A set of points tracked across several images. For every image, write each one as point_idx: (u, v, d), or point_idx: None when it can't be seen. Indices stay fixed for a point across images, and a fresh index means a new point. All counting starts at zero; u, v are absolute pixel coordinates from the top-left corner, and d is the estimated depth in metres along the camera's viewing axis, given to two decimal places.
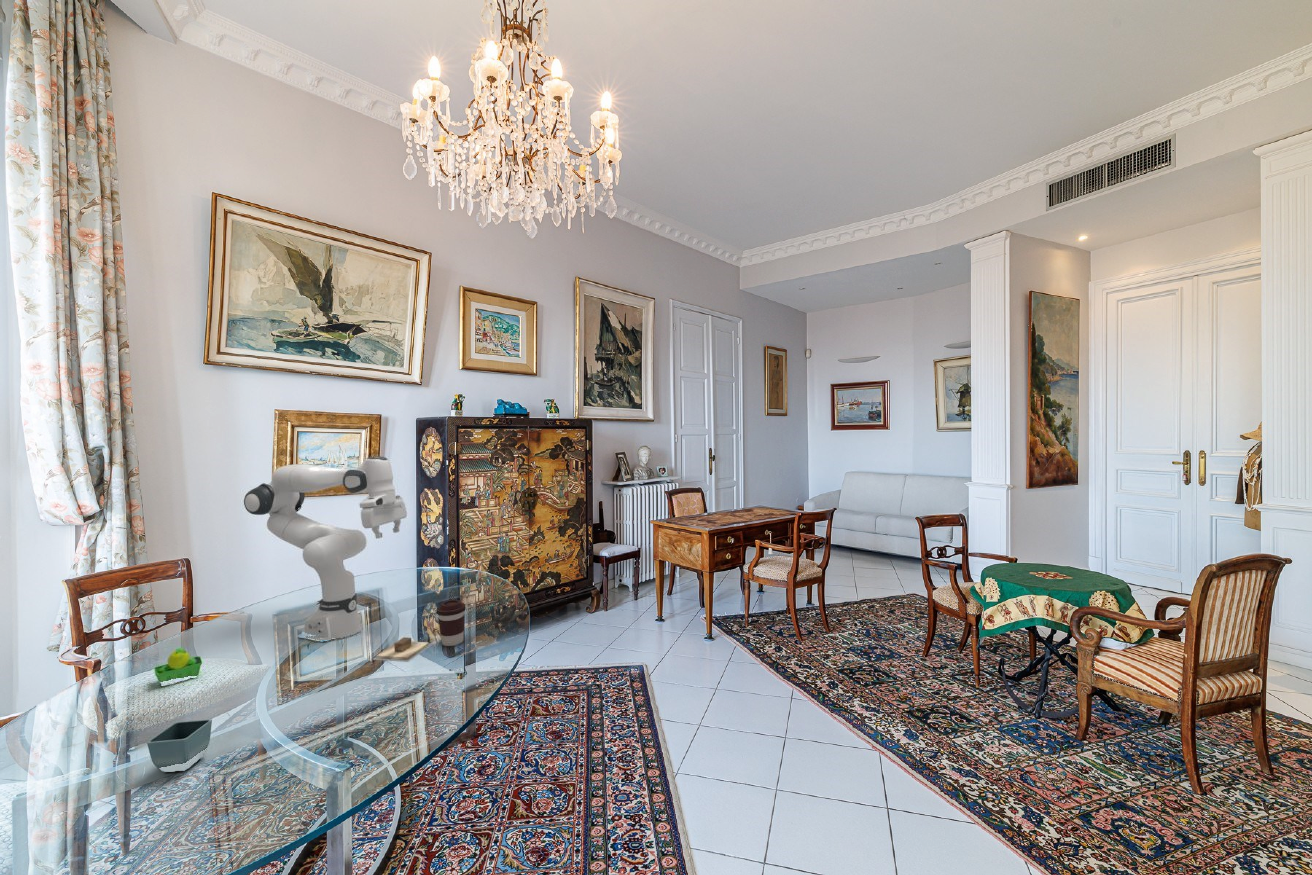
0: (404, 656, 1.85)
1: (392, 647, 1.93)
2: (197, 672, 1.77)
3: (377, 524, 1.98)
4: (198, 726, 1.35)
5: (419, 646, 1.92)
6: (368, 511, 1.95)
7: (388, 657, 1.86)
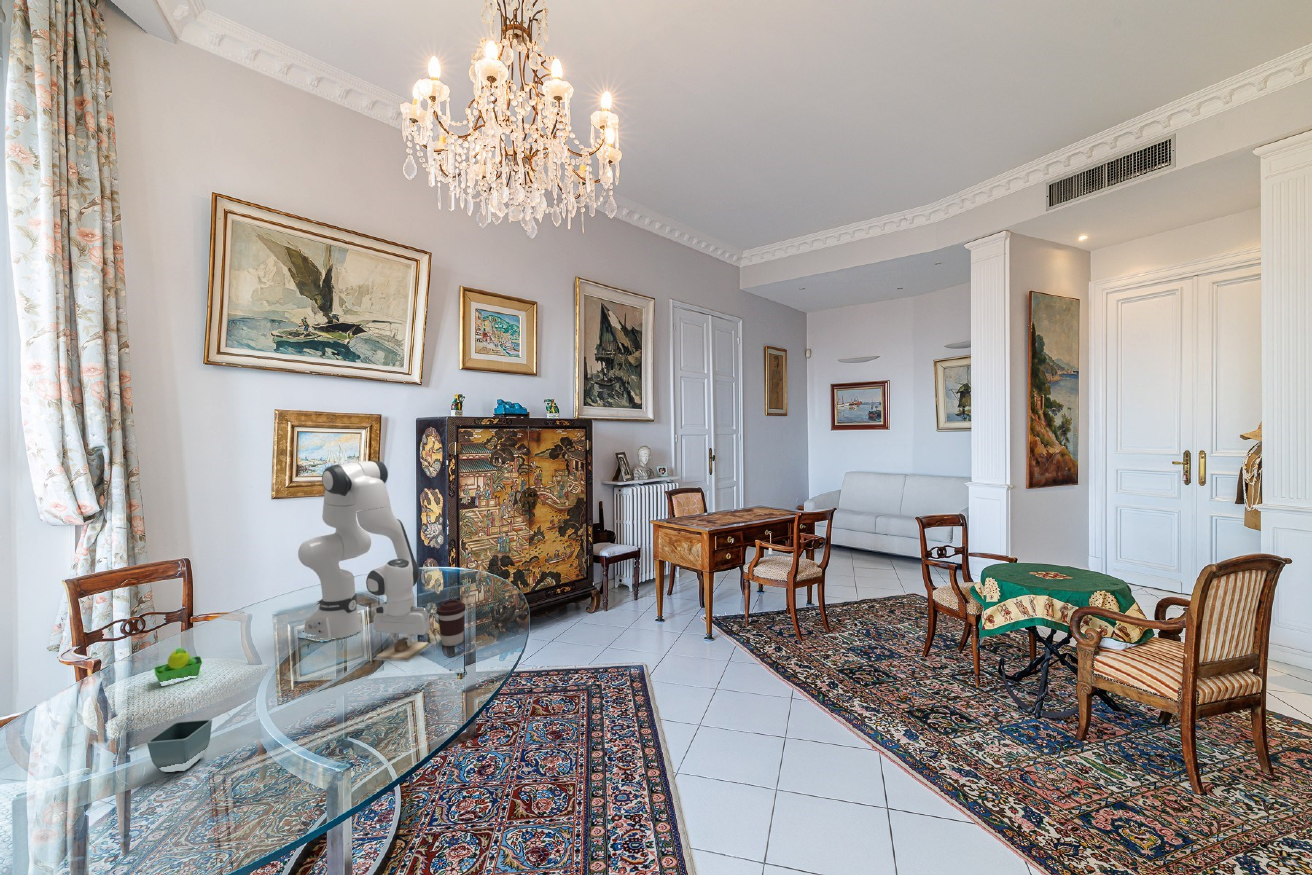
0: (404, 656, 1.85)
1: (392, 647, 1.93)
2: (197, 672, 1.77)
3: (381, 631, 1.90)
4: (198, 726, 1.35)
5: (418, 646, 1.92)
6: None
7: (388, 657, 1.86)
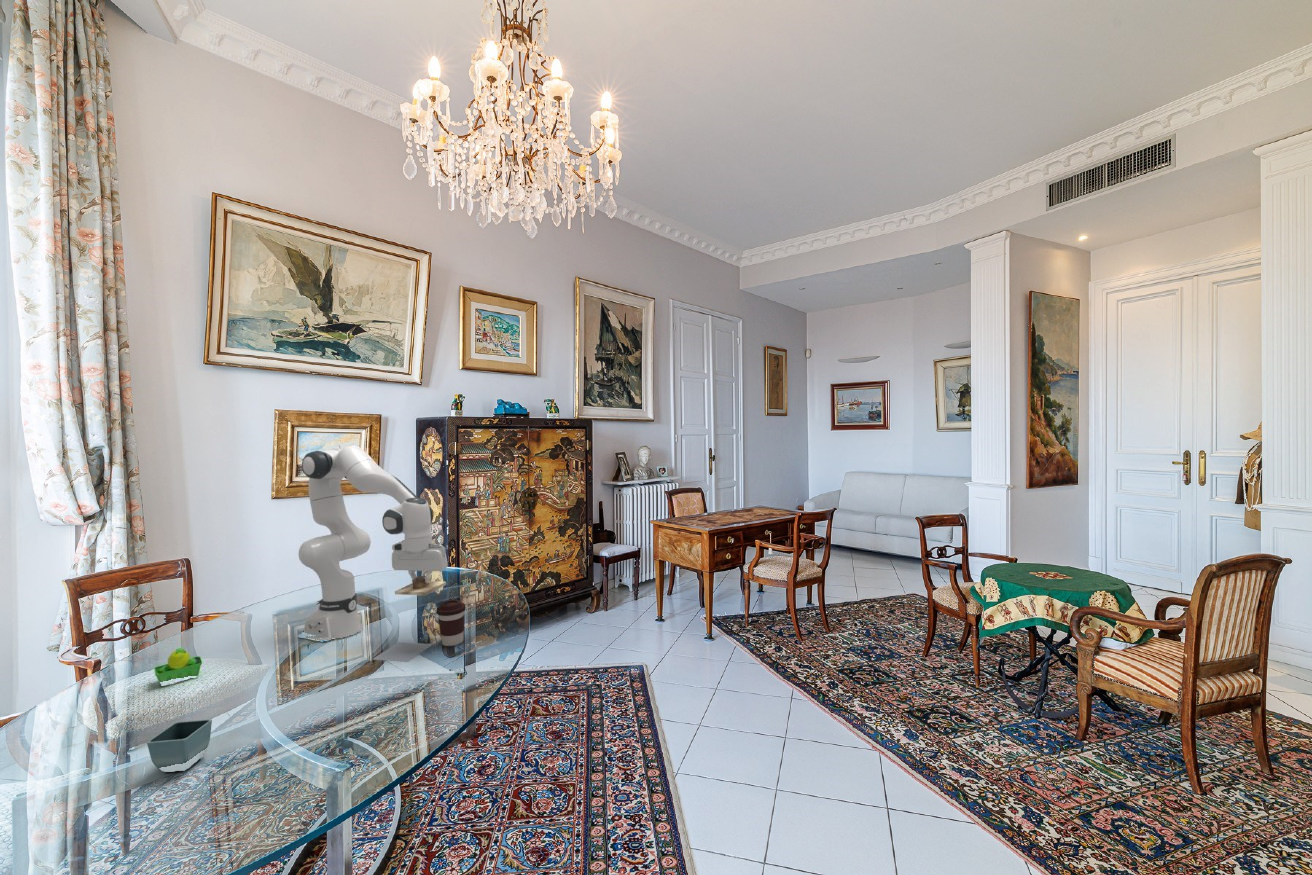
0: (422, 591, 1.87)
1: (410, 585, 1.94)
2: (197, 672, 1.77)
3: (400, 568, 1.92)
4: (198, 726, 1.35)
5: (436, 584, 1.94)
6: None
7: (406, 592, 1.87)
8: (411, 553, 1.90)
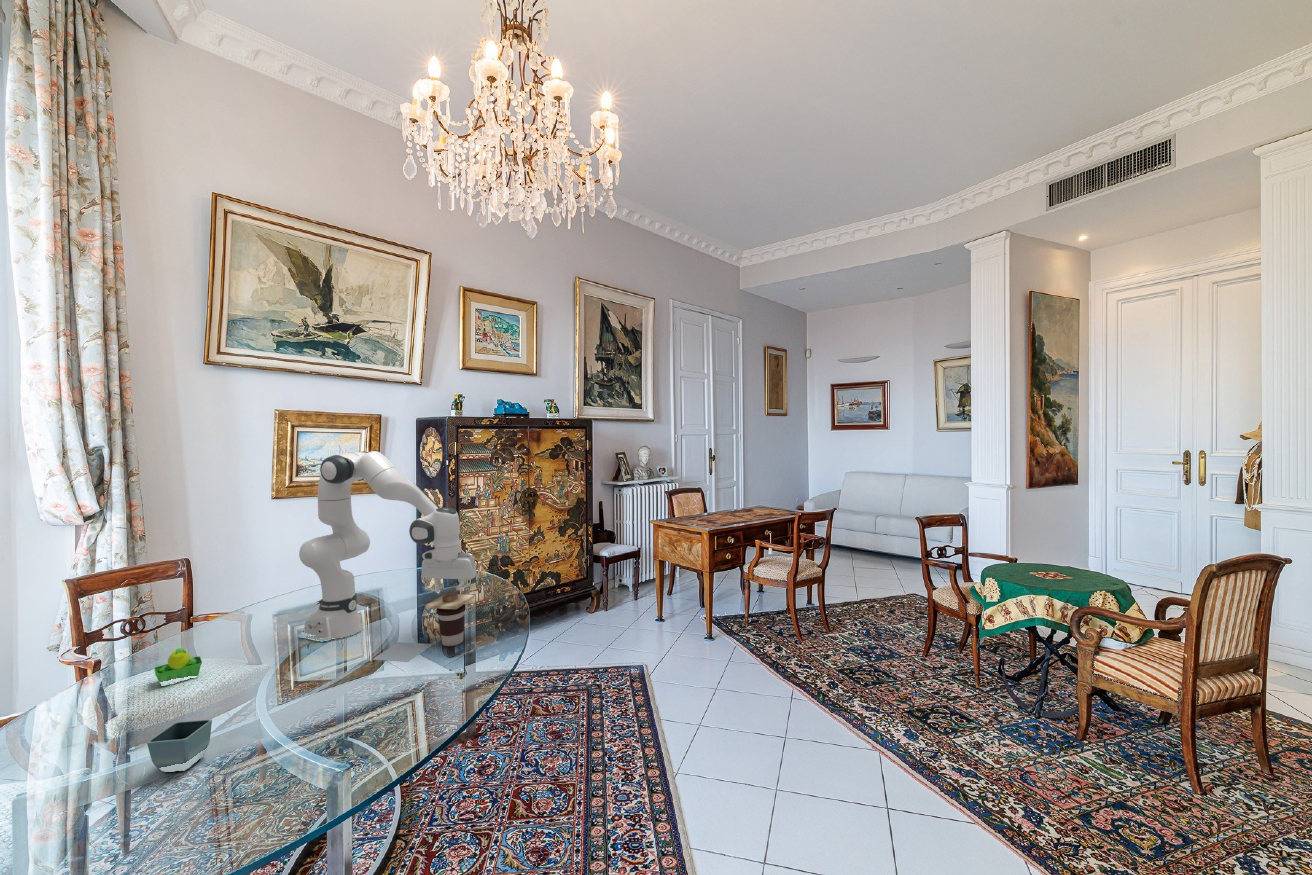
0: (453, 605, 1.91)
1: (439, 599, 1.99)
2: (197, 672, 1.77)
3: (429, 576, 1.97)
4: (198, 726, 1.35)
5: (465, 598, 1.99)
6: None
7: (437, 606, 1.92)
8: (441, 562, 1.94)
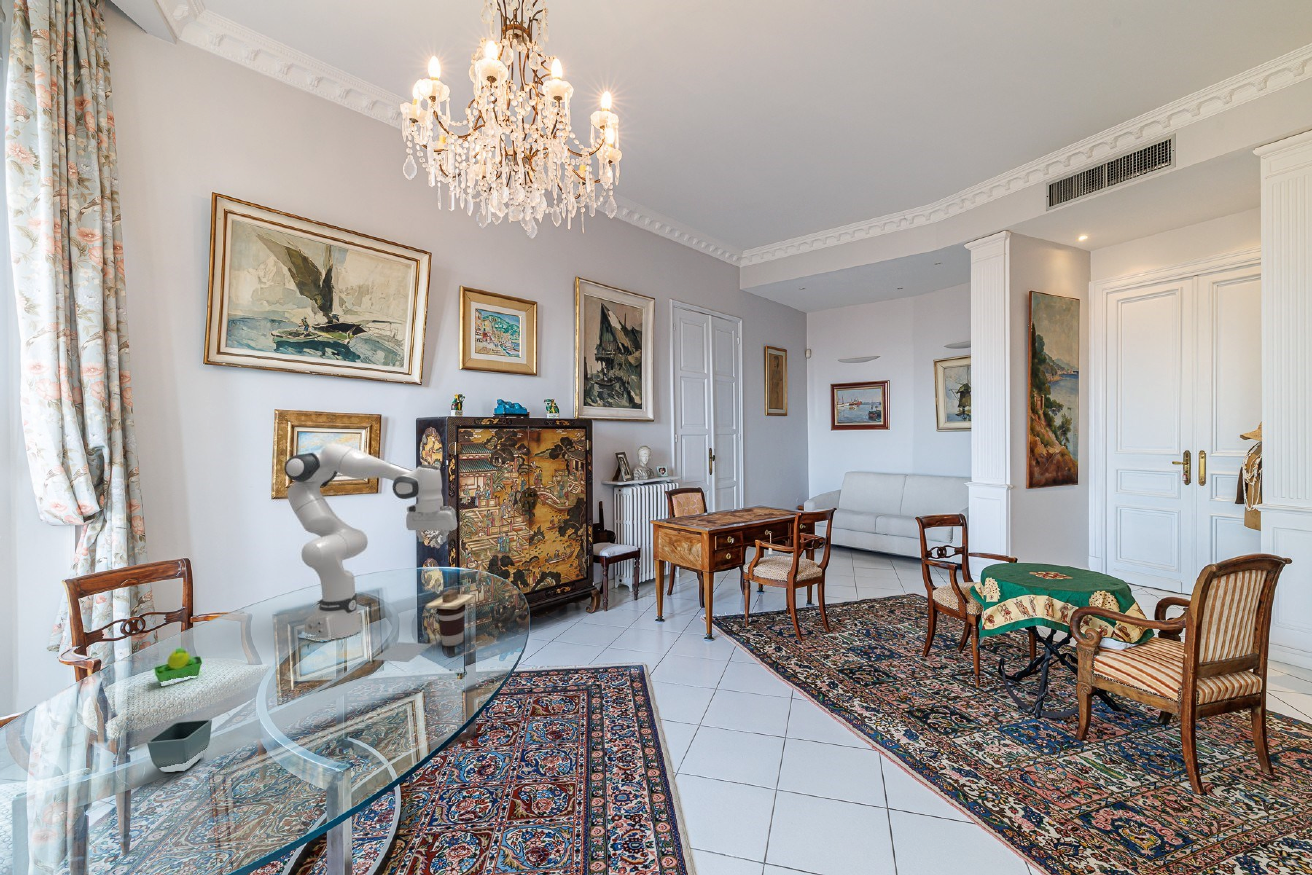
0: (453, 605, 1.91)
1: (439, 599, 1.99)
2: (197, 672, 1.77)
3: (413, 528, 2.12)
4: (198, 726, 1.35)
5: (465, 598, 1.99)
6: None
7: (437, 606, 1.92)
8: (424, 514, 2.09)
